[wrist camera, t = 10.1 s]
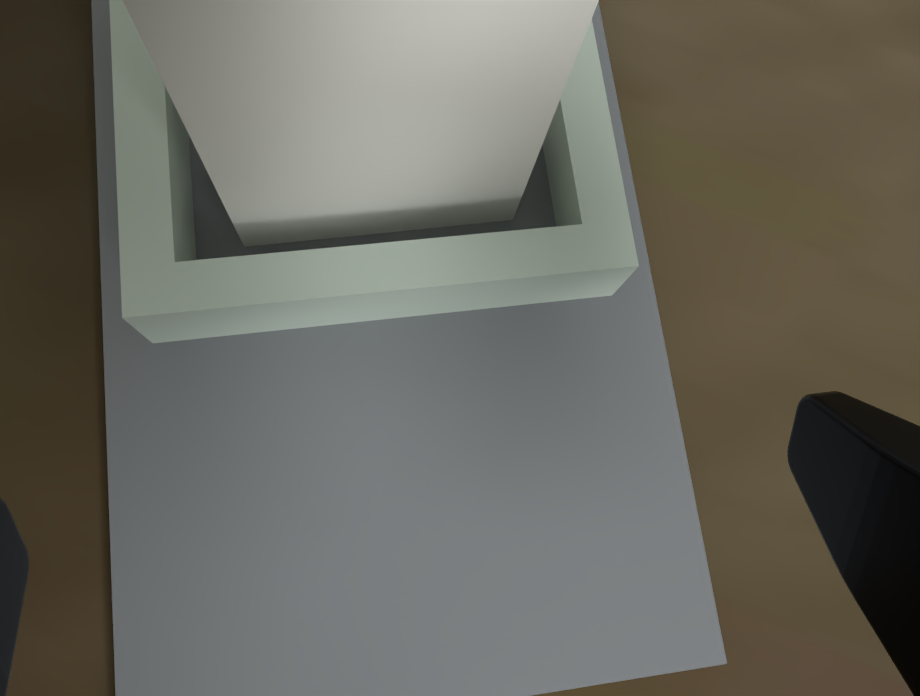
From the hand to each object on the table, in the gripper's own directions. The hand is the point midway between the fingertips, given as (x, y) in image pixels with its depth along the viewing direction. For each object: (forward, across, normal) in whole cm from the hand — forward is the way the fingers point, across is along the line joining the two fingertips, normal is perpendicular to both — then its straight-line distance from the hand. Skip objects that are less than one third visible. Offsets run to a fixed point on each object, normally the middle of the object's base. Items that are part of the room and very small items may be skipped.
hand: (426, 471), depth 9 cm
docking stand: (+10, 0, +3) cm, 10 cm away
